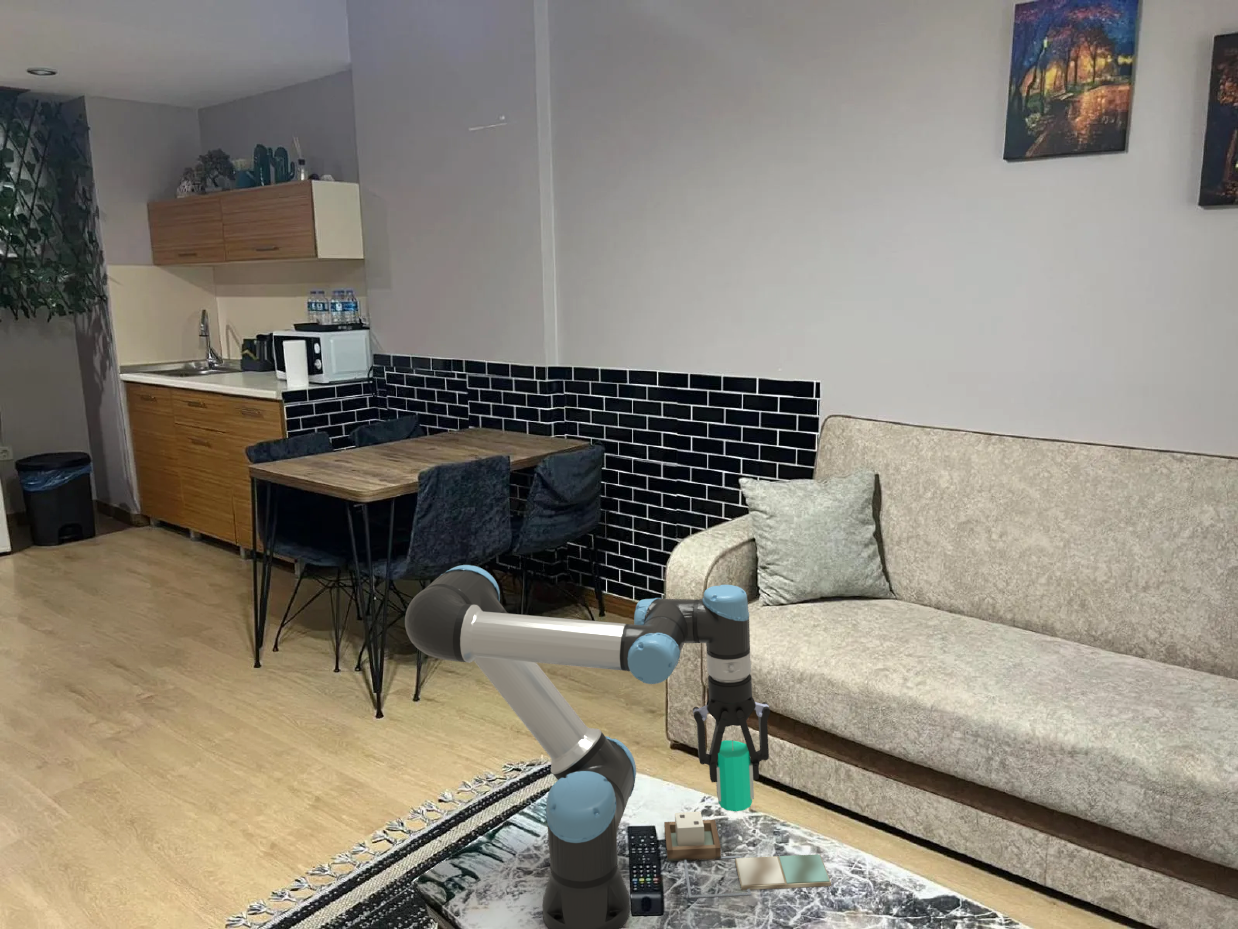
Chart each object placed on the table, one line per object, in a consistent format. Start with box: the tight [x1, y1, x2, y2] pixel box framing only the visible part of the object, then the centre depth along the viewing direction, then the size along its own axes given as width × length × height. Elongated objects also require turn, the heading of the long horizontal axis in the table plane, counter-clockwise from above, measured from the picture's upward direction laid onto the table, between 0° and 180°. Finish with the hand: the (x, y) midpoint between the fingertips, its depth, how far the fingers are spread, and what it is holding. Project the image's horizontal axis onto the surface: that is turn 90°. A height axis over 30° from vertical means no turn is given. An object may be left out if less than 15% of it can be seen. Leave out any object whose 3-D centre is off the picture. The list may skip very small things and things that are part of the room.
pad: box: [683, 855, 752, 899], centre depth 167 cm, size 11×11×1 cm
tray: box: [663, 819, 722, 862], centre depth 176 cm, size 10×9×2 cm
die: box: [674, 811, 704, 846], centre depth 176 cm, size 5×5×5 cm
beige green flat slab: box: [734, 853, 832, 891], centre depth 167 cm, size 16×8×1 cm, turn 91°
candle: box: [717, 739, 753, 813], centre depth 163 cm, size 6×6×12 cm
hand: (735, 795), depth 164 cm, fingers closed on candle, 5 cm apart
